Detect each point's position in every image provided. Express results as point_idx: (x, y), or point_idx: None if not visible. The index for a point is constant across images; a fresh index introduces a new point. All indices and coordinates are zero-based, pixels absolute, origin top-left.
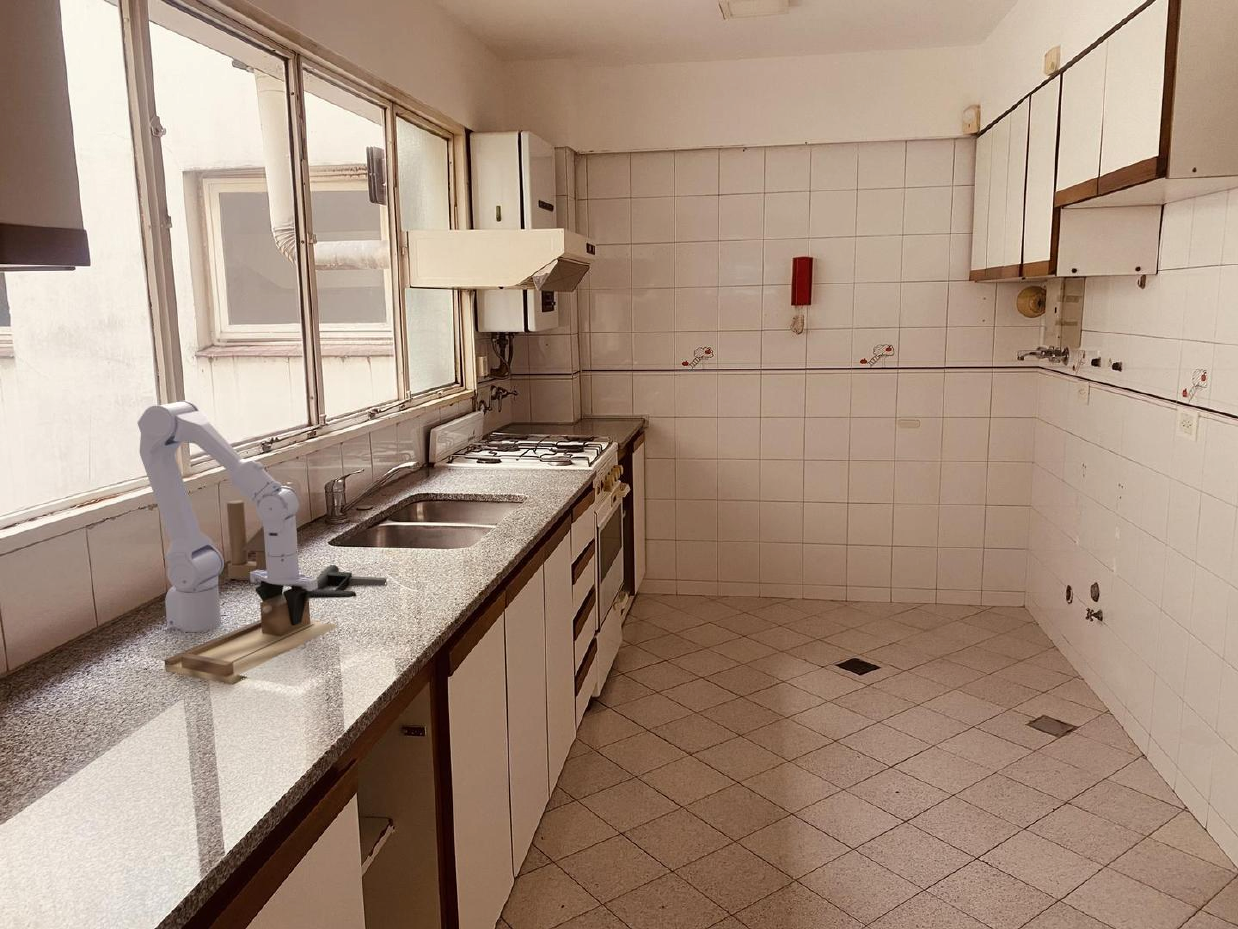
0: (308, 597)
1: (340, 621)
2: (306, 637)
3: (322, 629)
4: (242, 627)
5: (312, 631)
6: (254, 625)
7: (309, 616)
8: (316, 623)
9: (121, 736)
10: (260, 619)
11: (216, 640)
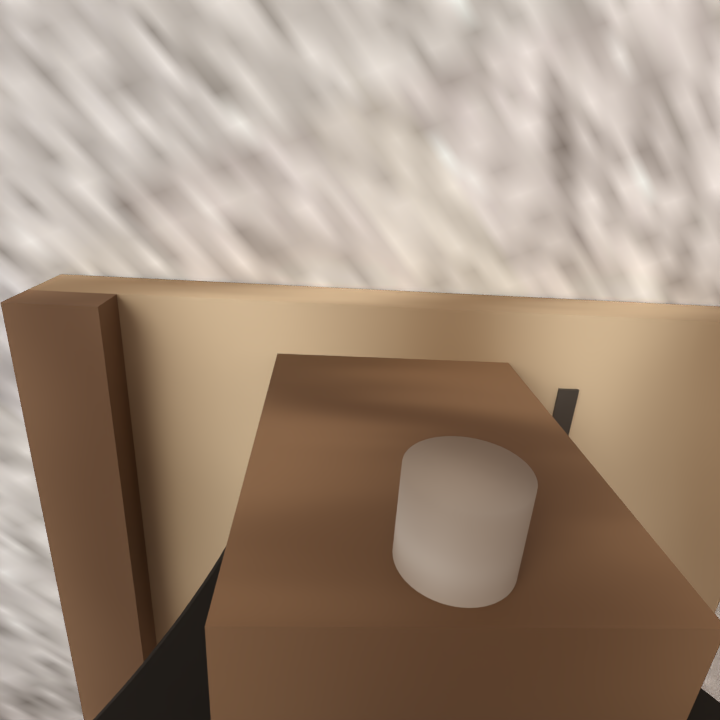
0: (669, 568)
1: (675, 41)
2: None
3: (707, 459)
4: (93, 713)
5: (640, 516)
6: (142, 659)
7: (530, 398)
8: (576, 355)
9: None
10: (52, 548)
11: None
